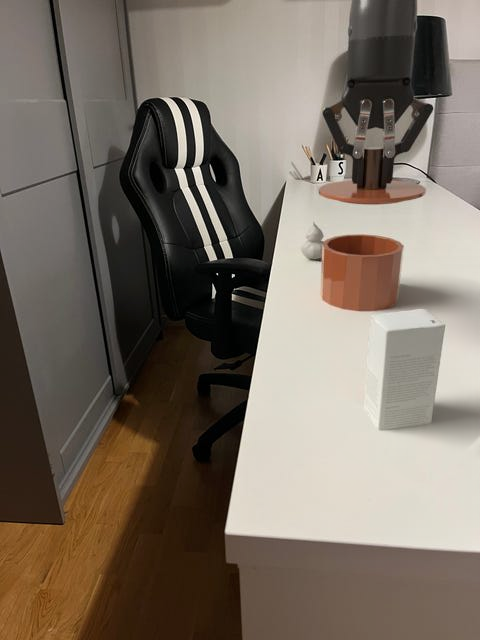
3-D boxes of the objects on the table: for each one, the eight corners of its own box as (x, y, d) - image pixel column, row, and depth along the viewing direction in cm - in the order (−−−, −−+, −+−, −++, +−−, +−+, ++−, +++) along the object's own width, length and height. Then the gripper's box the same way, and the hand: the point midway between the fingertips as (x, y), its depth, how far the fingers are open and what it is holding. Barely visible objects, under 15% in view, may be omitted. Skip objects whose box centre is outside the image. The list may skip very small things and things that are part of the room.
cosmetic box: (412, 404, 56) (425, 307, 51) (431, 427, 52) (448, 324, 47) (360, 411, 55) (369, 313, 50) (376, 435, 52) (387, 331, 47)
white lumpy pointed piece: (300, 254, 108) (301, 218, 105) (331, 254, 107) (333, 217, 104) (301, 262, 103) (301, 224, 100) (333, 262, 103) (335, 224, 99)
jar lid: (355, 184, 75) (357, 141, 72) (443, 193, 66) (450, 145, 63) (297, 199, 66) (297, 151, 64) (390, 213, 57) (394, 157, 55)
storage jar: (348, 280, 93) (352, 230, 89) (411, 297, 84) (418, 243, 80) (305, 300, 85) (307, 246, 81) (370, 321, 77) (375, 262, 73)
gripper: (439, 35, 60) (423, 182, 67) (322, 42, 63) (318, 182, 70) (450, 28, 53) (431, 192, 61) (319, 37, 56) (315, 193, 63)
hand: (371, 186), depth 65 cm, fingers closed on jar lid, 2 cm apart
